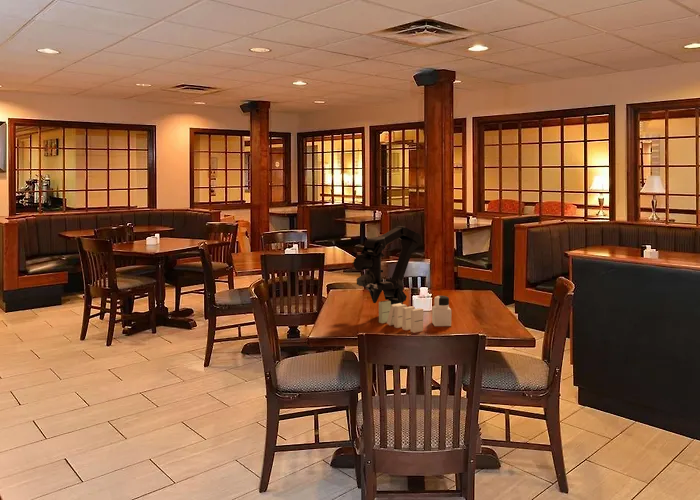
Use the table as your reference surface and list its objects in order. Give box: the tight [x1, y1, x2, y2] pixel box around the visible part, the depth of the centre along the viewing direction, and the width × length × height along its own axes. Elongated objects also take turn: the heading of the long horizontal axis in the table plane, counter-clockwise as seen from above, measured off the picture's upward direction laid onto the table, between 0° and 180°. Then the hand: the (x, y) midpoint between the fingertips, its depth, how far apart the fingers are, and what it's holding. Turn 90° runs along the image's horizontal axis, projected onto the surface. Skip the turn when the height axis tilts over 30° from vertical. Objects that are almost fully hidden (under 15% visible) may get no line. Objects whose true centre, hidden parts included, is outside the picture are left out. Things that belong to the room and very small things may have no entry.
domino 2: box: [393, 303, 408, 329], centre depth 259 cm, size 2×5×9 cm, turn 127°
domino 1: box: [386, 303, 402, 326], centre depth 262 cm, size 2×5×9 cm, turn 129°
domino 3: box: [401, 305, 416, 331], centre depth 255 cm, size 2×5×9 cm, turn 127°
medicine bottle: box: [431, 295, 452, 327], centre depth 262 cm, size 7×7×12 cm
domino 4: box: [410, 307, 424, 334], centre depth 251 cm, size 2×5×9 cm, turn 127°
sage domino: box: [378, 300, 391, 324], centre depth 267 cm, size 2×5×9 cm, turn 127°
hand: (374, 302), depth 272 cm, fingers closed
